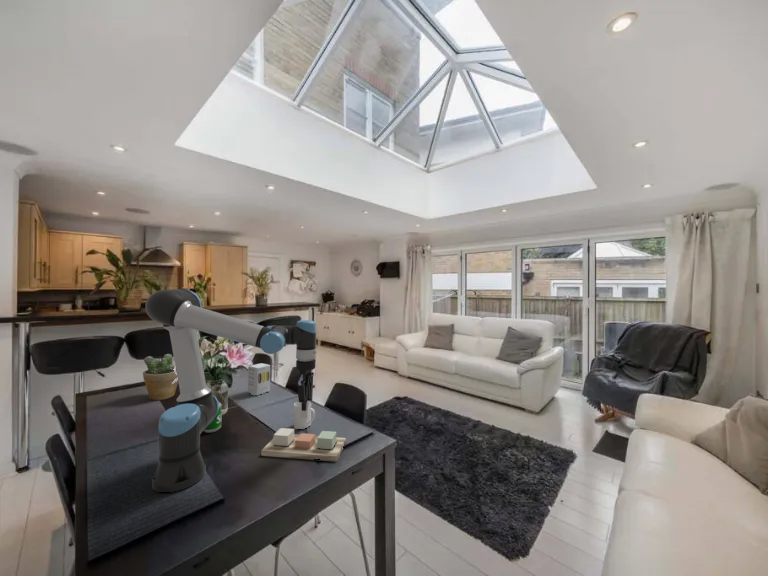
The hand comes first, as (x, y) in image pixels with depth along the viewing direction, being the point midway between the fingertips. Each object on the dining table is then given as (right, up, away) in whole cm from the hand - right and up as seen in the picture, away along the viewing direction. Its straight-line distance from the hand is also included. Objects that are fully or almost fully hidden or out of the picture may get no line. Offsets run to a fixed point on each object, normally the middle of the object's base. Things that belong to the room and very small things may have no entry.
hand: (304, 417), depth 124 cm
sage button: (+9, -11, -1) cm, 14 cm away
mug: (-5, -13, +19) cm, 23 cm away
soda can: (-46, -13, +16) cm, 50 cm away
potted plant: (-98, -12, +56) cm, 113 cm away
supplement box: (-44, -12, +64) cm, 79 cm away
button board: (0, -13, 0) cm, 13 cm away
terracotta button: (0, -12, 0) cm, 12 cm away
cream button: (-9, -10, +1) cm, 14 cm away
